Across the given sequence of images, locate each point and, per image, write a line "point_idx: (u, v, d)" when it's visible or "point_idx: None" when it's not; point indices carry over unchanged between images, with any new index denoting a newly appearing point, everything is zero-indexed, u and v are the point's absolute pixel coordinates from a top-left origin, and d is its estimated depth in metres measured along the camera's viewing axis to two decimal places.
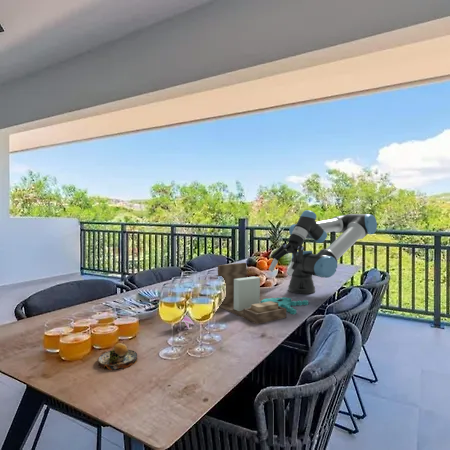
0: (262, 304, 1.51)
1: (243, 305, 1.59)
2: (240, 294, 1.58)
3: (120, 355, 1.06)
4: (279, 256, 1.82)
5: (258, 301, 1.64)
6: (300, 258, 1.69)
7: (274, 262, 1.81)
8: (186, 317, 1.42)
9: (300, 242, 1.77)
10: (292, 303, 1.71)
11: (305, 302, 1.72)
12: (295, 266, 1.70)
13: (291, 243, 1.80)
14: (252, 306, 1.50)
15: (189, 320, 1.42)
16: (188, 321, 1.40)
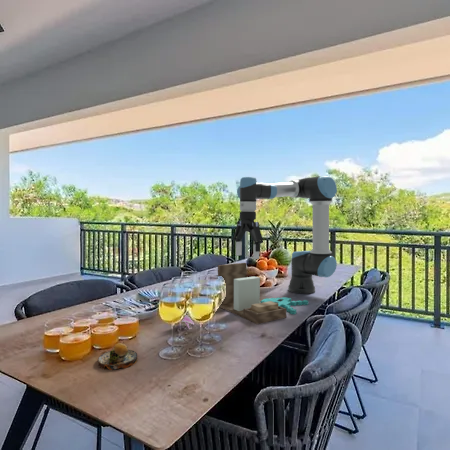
0: (262, 304, 1.51)
1: (243, 305, 1.59)
2: (240, 294, 1.58)
3: (120, 355, 1.06)
4: (240, 237, 1.66)
5: (258, 301, 1.64)
6: (259, 238, 1.53)
7: (238, 245, 1.67)
8: (186, 317, 1.42)
9: (252, 217, 1.58)
10: (292, 303, 1.71)
11: (305, 302, 1.72)
12: (258, 247, 1.55)
13: (244, 221, 1.61)
14: (252, 306, 1.50)
15: (190, 319, 1.42)
16: (188, 321, 1.40)
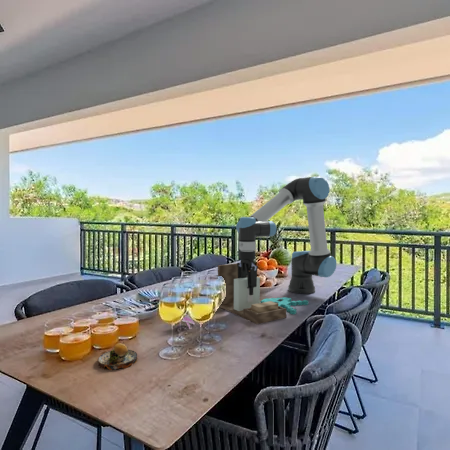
0: (262, 304, 1.51)
1: (243, 305, 1.59)
2: (240, 294, 1.58)
3: (120, 355, 1.06)
4: None
5: (258, 301, 1.64)
6: (253, 283, 1.57)
7: None
8: (187, 317, 1.42)
9: (251, 257, 1.59)
10: (292, 303, 1.71)
11: (305, 302, 1.72)
12: (252, 291, 1.59)
13: (244, 260, 1.62)
14: (252, 306, 1.50)
15: (190, 319, 1.42)
16: (189, 321, 1.41)
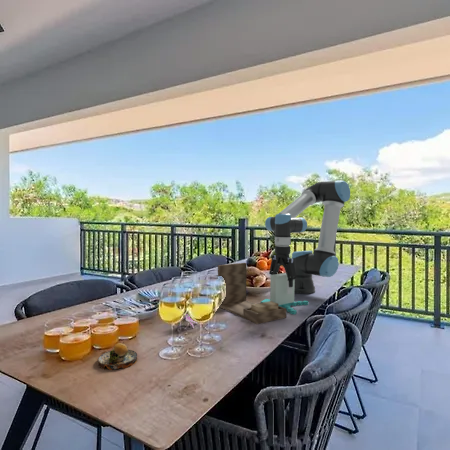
0: (262, 304, 1.51)
1: (279, 300, 1.67)
2: (277, 289, 1.66)
3: (120, 355, 1.06)
4: (276, 271, 1.73)
5: (293, 296, 1.71)
6: (293, 275, 1.63)
7: None
8: None
9: (287, 252, 1.66)
10: (292, 304, 1.71)
11: (305, 303, 1.72)
12: (291, 283, 1.65)
13: (279, 255, 1.70)
14: (252, 306, 1.50)
15: None
16: (192, 320, 1.41)
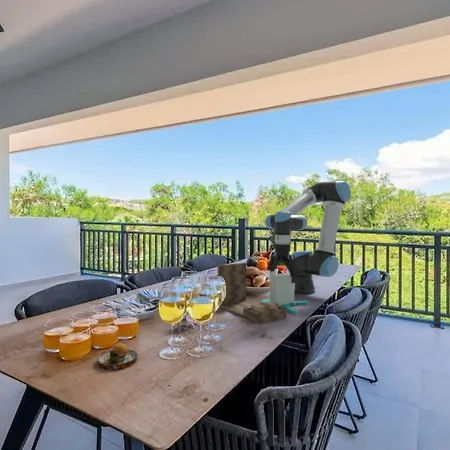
0: (262, 304, 1.51)
1: (279, 300, 1.67)
2: (277, 289, 1.66)
3: (120, 355, 1.06)
4: (274, 267, 1.75)
5: (293, 296, 1.71)
6: (295, 270, 1.62)
7: None
8: None
9: (287, 250, 1.66)
10: (292, 304, 1.71)
11: (305, 303, 1.72)
12: (294, 279, 1.63)
13: (279, 253, 1.69)
14: (252, 306, 1.50)
15: None
16: None
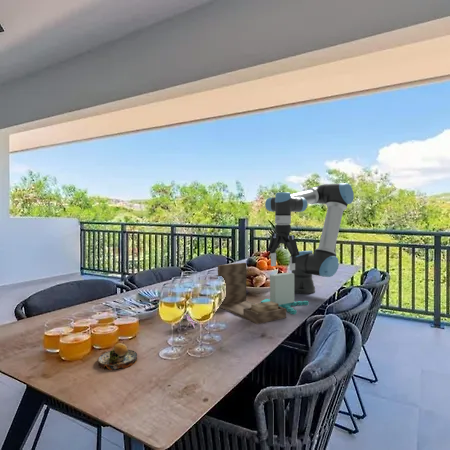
0: (262, 304, 1.51)
1: (279, 300, 1.67)
2: (277, 289, 1.66)
3: (120, 355, 1.06)
4: (275, 249, 1.74)
5: (293, 296, 1.71)
6: (295, 250, 1.61)
7: (273, 257, 1.75)
8: None
9: (288, 230, 1.66)
10: (292, 303, 1.71)
11: (305, 303, 1.72)
12: (294, 259, 1.63)
13: (280, 233, 1.69)
14: (252, 306, 1.50)
15: None
16: None
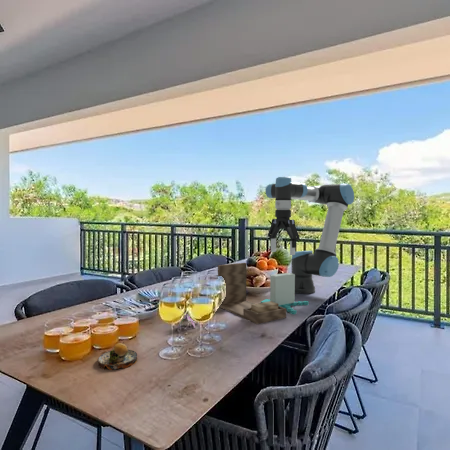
0: (262, 304, 1.51)
1: (279, 300, 1.67)
2: (277, 289, 1.66)
3: (120, 355, 1.06)
4: (275, 234, 1.74)
5: (293, 296, 1.71)
6: (296, 235, 1.61)
7: (273, 242, 1.74)
8: None
9: (288, 215, 1.65)
10: (292, 304, 1.71)
11: (305, 303, 1.72)
12: (295, 244, 1.62)
13: (280, 219, 1.69)
14: (252, 306, 1.50)
15: None
16: None
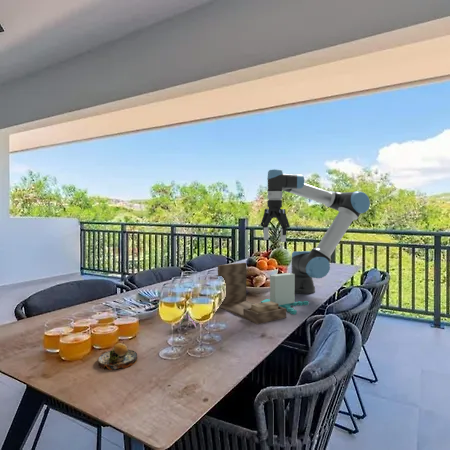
0: (262, 304, 1.51)
1: (279, 300, 1.66)
2: (277, 289, 1.65)
3: (120, 355, 1.06)
4: (267, 223, 1.86)
5: (293, 296, 1.71)
6: (286, 223, 1.73)
7: (265, 231, 1.87)
8: None
9: (279, 205, 1.78)
10: (292, 304, 1.71)
11: (305, 303, 1.72)
12: (285, 231, 1.75)
13: (272, 208, 1.81)
14: (252, 306, 1.50)
15: None
16: None
